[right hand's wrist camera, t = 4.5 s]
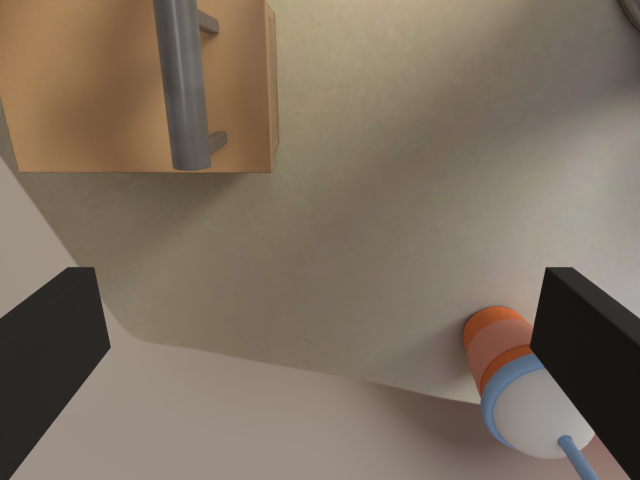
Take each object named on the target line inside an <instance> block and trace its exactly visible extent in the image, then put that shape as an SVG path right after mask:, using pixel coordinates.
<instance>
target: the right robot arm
mask: <svg viewBox="0 0 640 480" xmlns="http://www.w3.org/2000/svg"><path fill="white" fill-rule="evenodd" d="M619 1H620V3H621V6H622V8H623V10H624V12H625V13H626V15H627V16H628V18H629V19H630V21H631V22H632V23H633V24H634V26H635V27H636V28H637V29H638V30H639V31H640V0H619ZM110 348H111V346H110V341H109V337H108V332H107V327H106V322H105V318H104V313H103V308H102V303H101V298H100V293H99V288H98V284H97V279H96V274H95V269H94V267H68V268H66V269H65V270H64V271H62V272H61V273H60V274H58V275H57V276H56V277H54V278H53V279H52V280H50V281H49V282H48V283H47V284H45V285H44V286H43V287H41V288H40V289H39V290H37V291H36V292H35V293H33V294H32V295H31V296H29V297H28V298H27V299H25V300H24V301H23V302H21V303H20V304H19V305H17V306H16V307H15V308H14V309H12V310H11V311H10V312H8V313H7V314H6V315H4V316H3V317H2V318H0V480H9V479H10V478H11V476H12V475H13V474H14V472H15V471H16V470H17V468H18V467H19V466H20V465H21V463H22V462H23V461H24V459H25V458H26V457H27V455H28V454H29V453H30V451H31V450H32V449H33V448H34V446H35V445H36V444H37V442H38V441H39V440H40V439H41V437H42V436H43V435H44V433H45V432H46V431H47V429H48V428H49V427H50V426H51V424H52V423H53V422H54V420H55V419H56V418H57V417H58V415H59V414H60V413H61V411H62V410H63V409H64V407H65V406H66V405H67V404H68V402H69V401H70V400H71V398H72V397H73V396H74V394H75V393H76V392H77V391H78V389H79V388H80V387H81V385H82V384H83V383H84V381H85V380H86V379H87V378H88V376H89V375H90V374H91V372H92V371H93V370H94V368H95V367H96V366H97V365H98V363H99V362H100V361H101V359H102V358H103V357H104V355H105V354H106V353H107V352H108V350H109V349H110ZM529 348H530V349H531V350H532V352H533V353H534V354H535V355H536V357H537V358H538V359H539V361H540V362H541V363H542V365H543V366H544V367H545V368H546V370H547V371H548V372H549V374H550V375H551V376H552V378H553V379H554V380H555V381H556V383H557V384H558V385H559V387H560V388H561V389H562V391H563V392H564V393H565V394H566V396H567V397H568V398H569V400H570V401H571V402H572V404H573V405H574V406H575V407H576V409H577V410H578V411H579V413H580V414H581V415H582V417H583V418H584V419H585V420H586V422H587V423H588V424H589V426H590V427H591V428H592V429H593V431H594V432H595V433H596V435H597V436H598V437H599V439H600V440H601V441H602V442H603V444H604V445H605V446H606V448H607V449H608V450H609V452H610V453H611V454H612V455H613V457H614V458H615V459H616V461H617V462H618V463H619V465H620V466H621V467H622V468H623V470H624V471H625V472H626V474H627V475H628V476H629V478H630V479H631V480H640V318H638V317H637V316H636V315H634V314H633V313H632V312H630V311H629V310H628V309H626V308H625V307H624V306H623V305H621V304H620V303H619V302H617V301H616V300H615V299H613V298H612V297H611V296H609V295H608V294H607V293H605V292H604V291H603V290H601V289H600V288H599V287H597V286H596V285H595V284H594V283H592V282H591V281H590V280H588V279H587V278H586V277H584V276H583V275H582V274H580V273H579V272H578V271H576V270H575V269H574V268H572V267H546V269H545V274H544V279H543V284H542V288H541V293H540V298H539V303H538V308H537V313H536V317H535V322H534V327H533V332H532V337H531V341H530V346H529Z"/></svg>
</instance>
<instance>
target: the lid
mask: <svg viewBox="0 0 640 480" xmlns="http://www.w3.org/2000/svg"><path fill="white" fill-rule="evenodd" d="M0 98H1V102H2V106H3V110H4V114H5V118H6V122H7V126H8V130H9V134H10V138H11V142H12V146H13V150H14V154H15V158H16V162H17V166H18V170H19V172H172V173H271V172H272V170H273V153H272V126H271V99H270V73H269V46H268V19H267V0H0Z"/></svg>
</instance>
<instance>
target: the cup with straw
mask: <svg viewBox="0 0 640 480" xmlns="http://www.w3.org/2000/svg"><path fill="white" fill-rule="evenodd" d="M533 327H534V326H533V325H532V324H530V323H528V322H526V321H525V320H524V319H523V318H522V317H521V316H520V315H519V314H517V313H516V312H515V311H513V310H511V309H509V308H506V307H489V308H486V309H483V310H481V311H479V312H477V313H476V314H474V315H473V316H472V317H471V318H470V319H469V320H468V322H467V323H466V325H465V327H464V330H463V343H464V346H465V349H466V352H467V357H468V363H469V366H470V369H471V372H472V375H473V378H474V380H475V383H476V386H477V389H478V392H479V395H480V397H481V405H480V407H481V414H482V418H483V421H484V423H485V425H486V427H487V428H488V430H489V431H490V432H491V434H492V435H493V436H494V437H495V438H496V439H497V440H499V441H500V442H501V443H503V444H505V445H507V446H509V447H511V448H514V449H517V450H519V451H521V452H523V453H526V454H528V455H531V456H534V457H538V458H545V459H556V458H562V457H566V456H567V457H568V459H569V460H570V462H571V463H572V465H573V466H574V468H575V469H576V471H577V473H578V474H579V476H580V477H581V479H582V480H599V479H598V478H597V476H596V475H595V473H594V472H593V470H592V469H591V467H590V466H589V464H588V463H587V461H586V460H585V459H584V457H583V456H582V454H581V453H580V451H579V450H581V449H582V448H583V447H585V446H586V445H587V444H588V443H589V442H590V440H591V439H592V438H593V436H594V434H595V432H594V431H593V429H592V428H591V427H590V426H589V424H588V423H587V422H586V420H585V419H584V418H583V417H582V415H581V414H580V413H579V411H578V410H577V409H576V407H575V406H574V405H573V404H572V402H571V401H570V400H569V398H568V397H567V396H566V394H565V393H564V392H563V391H562V389H561V388H560V387H559V385H558V384H557V383H556V381H555V380H554V379H553V378H552V376H551V375H550V374H549V372H548V371H547V370H546V368H545V367H544V366H543V365H542V363H541V362H540V361H539V359H538V358H537V357H536V355H535V354H534V353H533V352H532V350H531V349H530V348H529V346H530V341H531V337H532V332H533Z"/></svg>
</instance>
